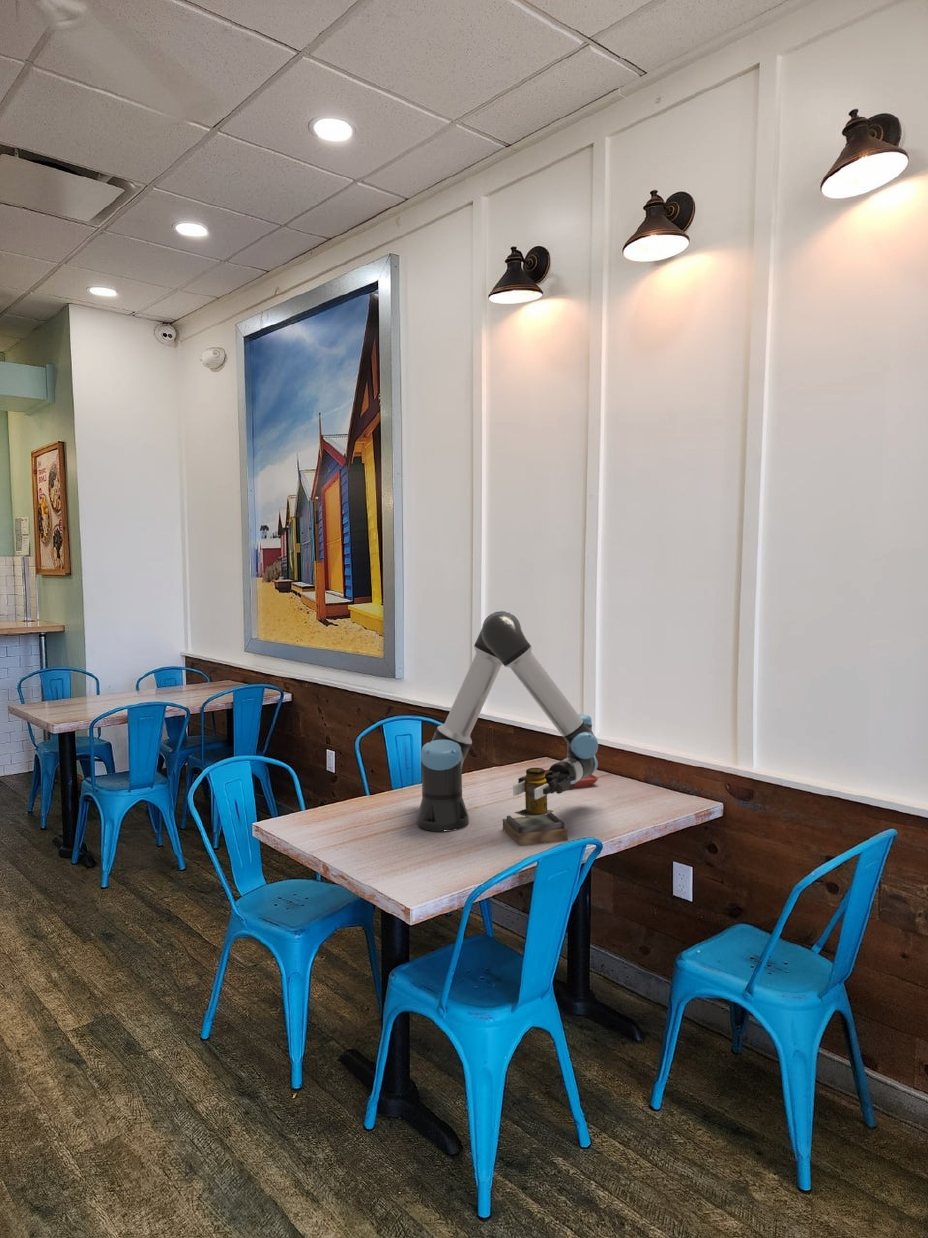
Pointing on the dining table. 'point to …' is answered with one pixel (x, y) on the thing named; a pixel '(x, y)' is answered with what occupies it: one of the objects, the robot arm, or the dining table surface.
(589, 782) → the plant saucer
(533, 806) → the condiment
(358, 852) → the dining table surface
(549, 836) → the dock
